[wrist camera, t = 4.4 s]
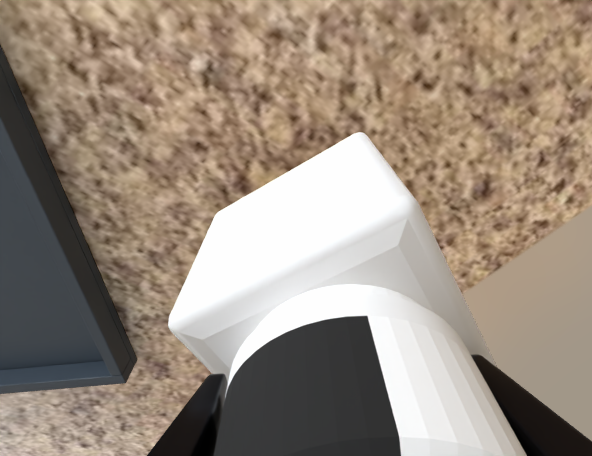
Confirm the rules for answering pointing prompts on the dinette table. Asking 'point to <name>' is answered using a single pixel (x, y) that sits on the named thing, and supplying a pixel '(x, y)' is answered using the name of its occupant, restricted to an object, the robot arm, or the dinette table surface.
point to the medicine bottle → (338, 321)
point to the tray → (48, 272)
